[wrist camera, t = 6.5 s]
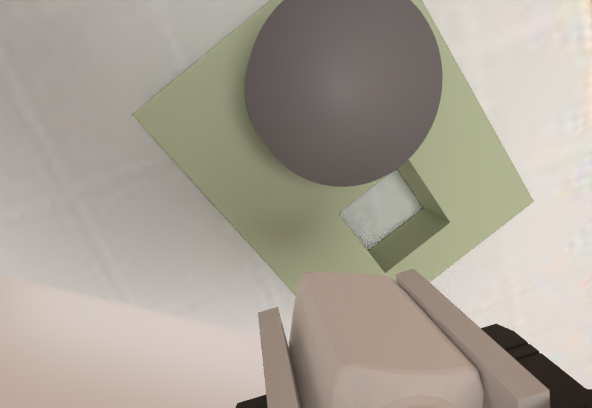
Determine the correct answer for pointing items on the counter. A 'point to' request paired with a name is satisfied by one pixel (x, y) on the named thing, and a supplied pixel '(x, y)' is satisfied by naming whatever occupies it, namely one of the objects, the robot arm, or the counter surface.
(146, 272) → the counter surface
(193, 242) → the counter surface
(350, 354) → the pepper shaker
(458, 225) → the green knob base
